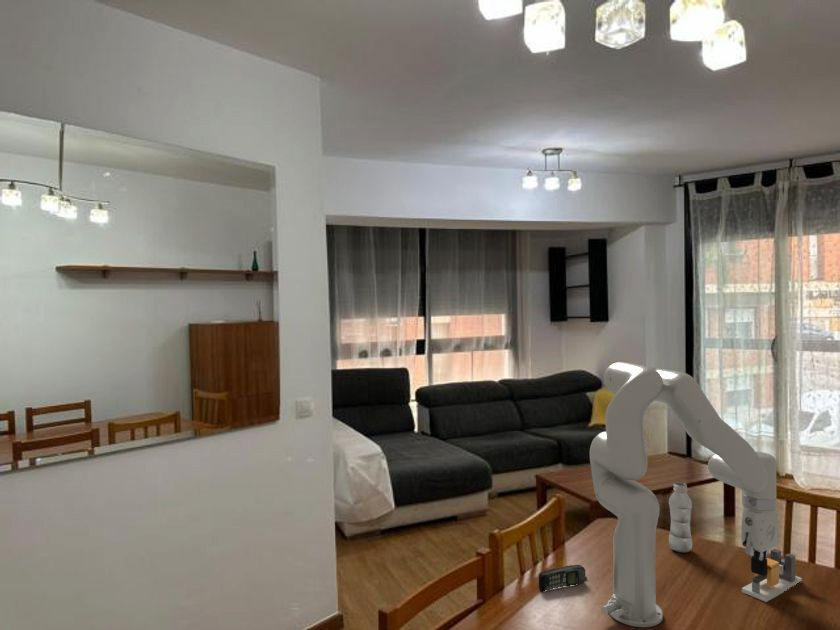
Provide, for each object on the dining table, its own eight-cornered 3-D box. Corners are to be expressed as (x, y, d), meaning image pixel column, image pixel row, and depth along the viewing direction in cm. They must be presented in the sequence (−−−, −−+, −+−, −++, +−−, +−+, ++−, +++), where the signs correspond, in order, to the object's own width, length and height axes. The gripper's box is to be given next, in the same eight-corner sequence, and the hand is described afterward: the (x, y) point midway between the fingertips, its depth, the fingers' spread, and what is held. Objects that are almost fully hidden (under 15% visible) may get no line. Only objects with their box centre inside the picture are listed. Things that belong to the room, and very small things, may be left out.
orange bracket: (771, 587, 145) (771, 566, 145) (754, 581, 148) (754, 560, 148) (779, 583, 147) (779, 562, 147) (762, 576, 150) (762, 556, 150)
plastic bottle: (687, 545, 174) (687, 480, 173) (696, 555, 167) (695, 488, 167) (665, 545, 175) (665, 480, 174) (673, 555, 168) (672, 488, 167)
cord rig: (766, 602, 142) (766, 572, 141) (741, 591, 147) (741, 563, 146) (801, 581, 151) (801, 553, 151) (777, 572, 156) (777, 545, 156)
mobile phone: (542, 576, 147) (590, 564, 153) (536, 571, 150) (584, 559, 155) (542, 595, 148) (591, 582, 153) (536, 589, 151) (584, 577, 156)
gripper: (758, 513, 137) (758, 587, 138) (789, 500, 145) (789, 571, 146) (727, 503, 144) (728, 575, 144) (759, 492, 152) (759, 560, 152)
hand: (759, 573), depth 145 cm, fingers closed
